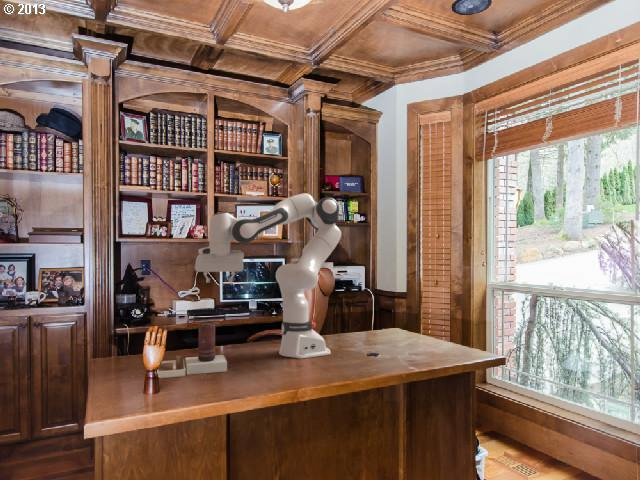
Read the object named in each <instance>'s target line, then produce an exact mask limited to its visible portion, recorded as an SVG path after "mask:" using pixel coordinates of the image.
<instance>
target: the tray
mask: <svg viewBox="0 0 640 480" xmlns="http://www.w3.org/2000/svg"><path fill="white" fill-rule="evenodd" d="M162 363H173V370H169V371H159V369H158V370H157V374H158V377H159V379H167V378H178V377H179V378H180V377H181V378H182V377H186V368H185V360H184V359H183V369H181V370H176V359H175V360H162Z"/></svg>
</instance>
